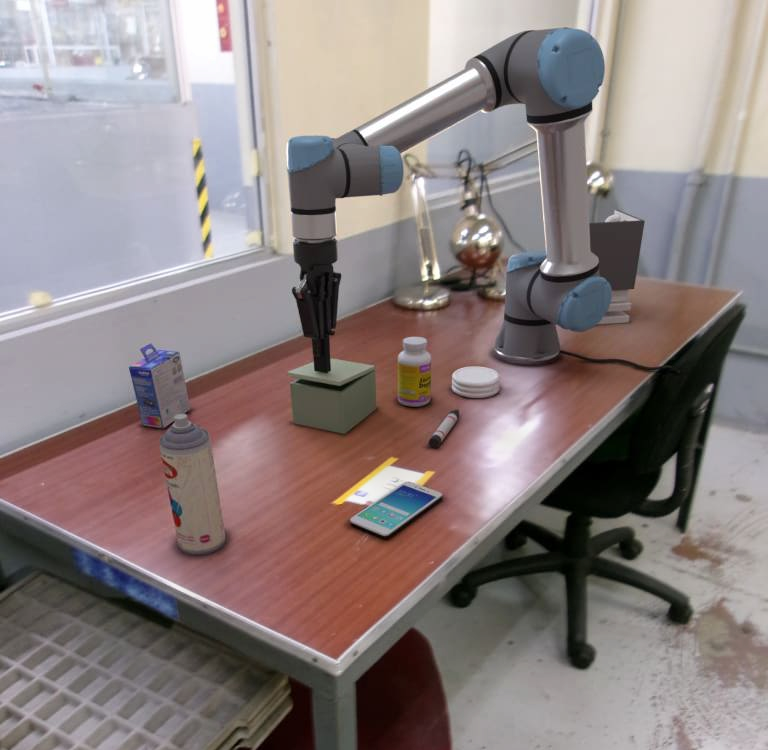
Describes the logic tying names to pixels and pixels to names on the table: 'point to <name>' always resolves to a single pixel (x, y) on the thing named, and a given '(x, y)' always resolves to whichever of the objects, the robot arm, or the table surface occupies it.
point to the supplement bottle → (414, 373)
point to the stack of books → (617, 259)
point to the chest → (333, 403)
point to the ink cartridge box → (159, 387)
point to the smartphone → (396, 509)
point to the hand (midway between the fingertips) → (322, 370)
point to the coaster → (475, 382)
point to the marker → (444, 429)
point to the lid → (332, 372)
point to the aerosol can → (192, 487)
